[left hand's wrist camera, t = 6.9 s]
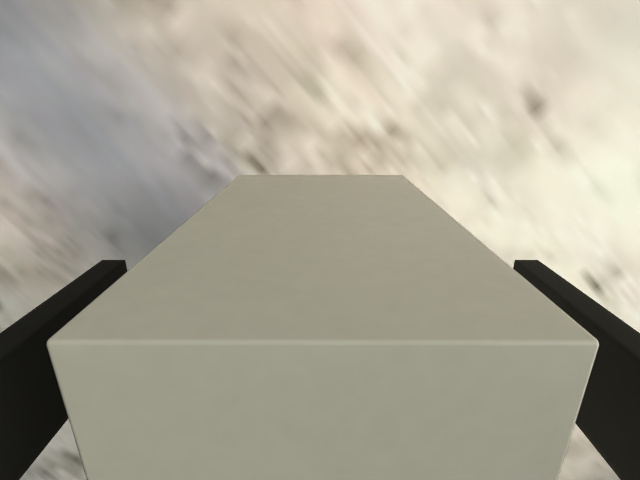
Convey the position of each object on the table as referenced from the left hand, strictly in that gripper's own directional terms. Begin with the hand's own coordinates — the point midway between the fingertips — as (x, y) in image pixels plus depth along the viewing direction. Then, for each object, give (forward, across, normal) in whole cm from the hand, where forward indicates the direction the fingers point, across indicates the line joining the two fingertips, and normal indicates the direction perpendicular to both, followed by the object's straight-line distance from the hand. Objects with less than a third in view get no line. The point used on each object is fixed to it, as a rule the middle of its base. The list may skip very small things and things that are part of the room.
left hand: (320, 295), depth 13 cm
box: (+4, 0, -8) cm, 9 cm away
